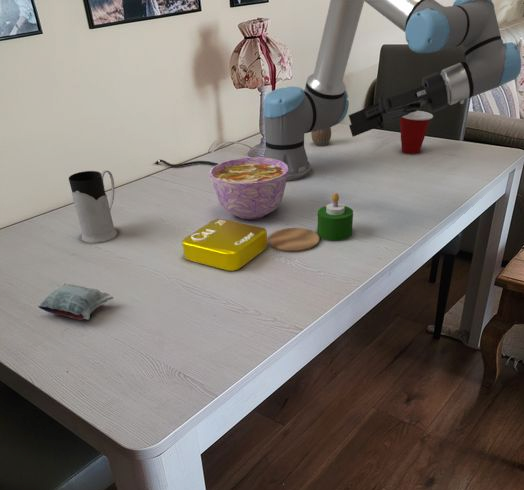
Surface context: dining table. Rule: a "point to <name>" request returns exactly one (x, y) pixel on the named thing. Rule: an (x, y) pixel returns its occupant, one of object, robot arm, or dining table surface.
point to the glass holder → (93, 206)
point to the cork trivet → (294, 239)
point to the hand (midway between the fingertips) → (350, 126)
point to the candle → (335, 221)
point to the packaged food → (74, 301)
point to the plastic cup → (414, 131)
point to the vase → (321, 136)
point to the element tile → (225, 244)
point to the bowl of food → (250, 185)
